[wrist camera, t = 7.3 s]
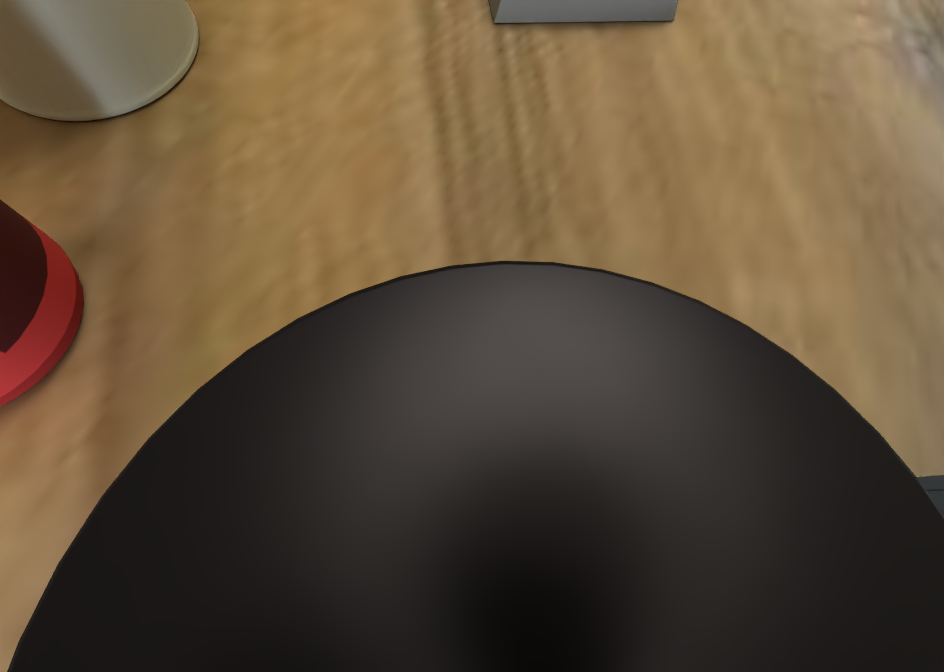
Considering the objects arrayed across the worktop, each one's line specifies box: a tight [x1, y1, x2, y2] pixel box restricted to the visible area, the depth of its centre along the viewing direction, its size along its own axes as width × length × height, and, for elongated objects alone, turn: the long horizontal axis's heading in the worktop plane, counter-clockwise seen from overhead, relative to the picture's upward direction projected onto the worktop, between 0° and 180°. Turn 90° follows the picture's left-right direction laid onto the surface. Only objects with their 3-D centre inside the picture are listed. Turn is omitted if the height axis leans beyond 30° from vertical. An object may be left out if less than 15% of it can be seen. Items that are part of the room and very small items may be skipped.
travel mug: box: [7, 261, 944, 672], centre depth 8 cm, size 7×7×12 cm
